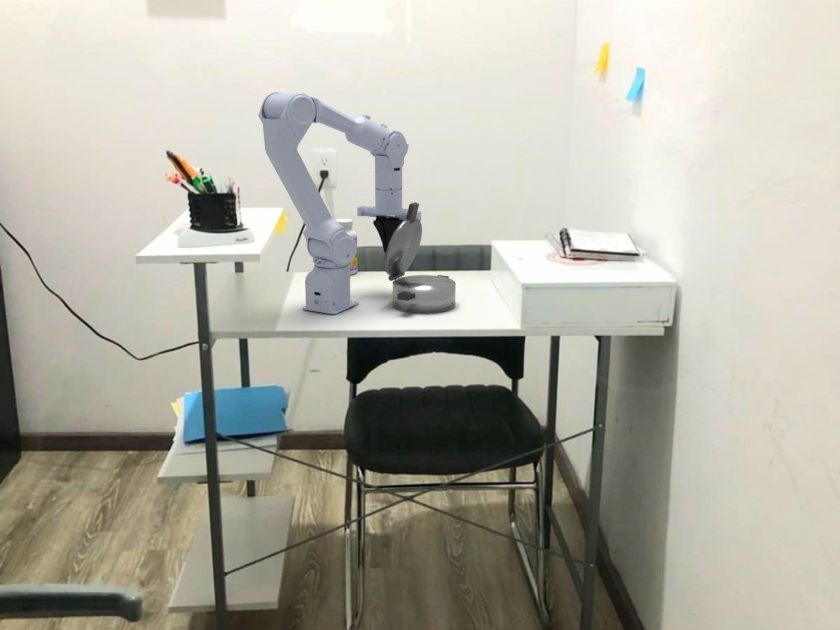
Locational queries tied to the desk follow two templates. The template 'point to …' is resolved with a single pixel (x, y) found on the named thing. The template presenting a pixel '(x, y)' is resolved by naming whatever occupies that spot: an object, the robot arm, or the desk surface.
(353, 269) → the supplement bottle
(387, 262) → the lid
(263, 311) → the desk surface
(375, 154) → the robot arm
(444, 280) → the pot
